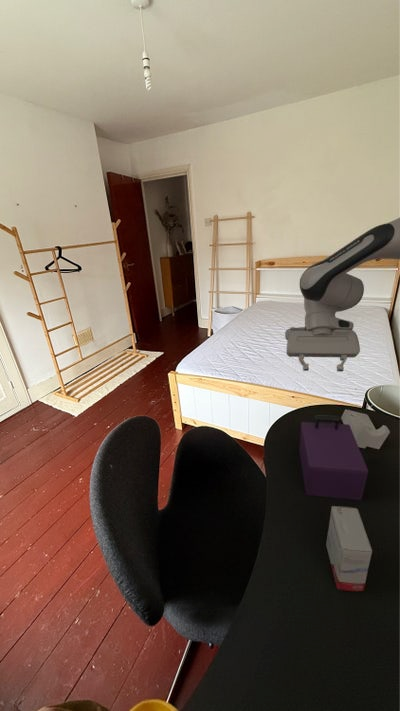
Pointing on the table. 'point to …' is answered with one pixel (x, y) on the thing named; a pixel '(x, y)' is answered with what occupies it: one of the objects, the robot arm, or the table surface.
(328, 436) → the lid
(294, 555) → the table surface
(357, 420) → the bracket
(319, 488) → the box
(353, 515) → the ink box
